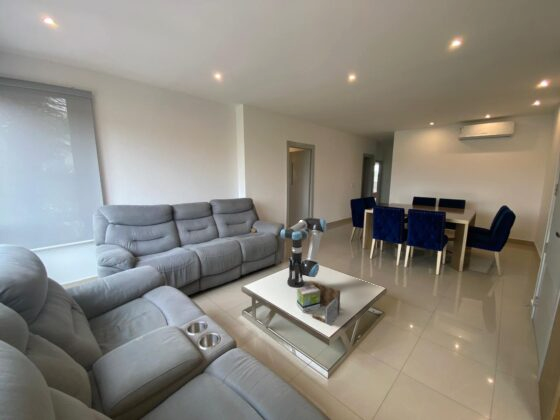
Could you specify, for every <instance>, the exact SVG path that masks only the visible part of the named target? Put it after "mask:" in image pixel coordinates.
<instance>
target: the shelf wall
mask: <svg viewBox="0 0 560 420" xmlns="http://www.w3.org/2000/svg"><path fill="white" fill-rule="evenodd" d="M311 285H314V286H316V287H317V288H318V289H319V290H320V306H321V305H322V306H324V307H325V308H326V307H327V306H328V305H329V304H330V303H331V302H332V301H333V300H334V299H335V298H336V297H337V296H339V306H338V311H341V310H340V309H341V290H339V289H336V288H332V287H331V286H330V287H329V286H326V285H324V284H321V283H318V282H315V281H312V280H309V281H308V286H311ZM311 316H312V319H315V320H316V321H319V322H321V323H324V324H325V318H323V317H322V316H319V315H317V314H315V313H312V315H311Z"/></svg>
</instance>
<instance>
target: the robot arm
mask: <svg viewBox="0 0 560 420" xmlns="http://www.w3.org/2000/svg"><path fill="white" fill-rule="evenodd" d="M327 229H328V228H327V221H326V219H324V218H317V217H315V218H314V217H307V218H303V219H301V220H299V221H298V222H297V223H296V224H294V225H292V226H290V227H289V228H287V229H286V228H284V229H283V228H282V229H281V230H280V238H281V239H284V240H285V239H286V240H291V256H290V257H289V258H288V270H289V271H288V273H289V274H288V278H287V285H288V286H289V287H291V288H302V287H304V278H303V276H304V277H305V276H306V277H309V278H315V277H316V276H318V273H319V269H320V266H319V264H318V261H317V259H318V254H319V248H320V244H321V240H322V235H324V233H325V232H326V231H327ZM306 230H309V231H310V232H311V237H310V242H309V247H308V252H307V256H306V258H305V259H304V260H303V259H302V256H303V255H302V253H303V242H304V241H306V240H307V239H308V238H309V232H307V231H306Z"/></svg>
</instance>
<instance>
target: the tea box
mask: <svg viewBox="0 0 560 420" xmlns="http://www.w3.org/2000/svg"><path fill="white" fill-rule="evenodd" d="M296 292H297V293H296V306H297V308H298V309H299V310H300V311H301V312H302V313H305V312H309V311H312V310H316V309H320V307H321V304H320V290H319V289H318V288H317V287H316V286H314V285H311V286H309V285H308V286H307V285H306V286H302V287H297V291H296Z"/></svg>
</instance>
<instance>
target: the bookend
mask: <svg viewBox="0 0 560 420" xmlns="http://www.w3.org/2000/svg"><path fill="white" fill-rule="evenodd" d="M338 306H339V296H337V297H336V298H335V299H334V300H333V301H332V302H331V303H330V304H329V305H328V306H327V307H326V306H325V316H324V317H325V318H324V319H325V323H324V324H326V325H328V326H331V325H332V324H333V323H334V322H335V321H336V320H337V319H338V317H339V316H340V315H341V314H342V311H341V310H340V311H338Z"/></svg>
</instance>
